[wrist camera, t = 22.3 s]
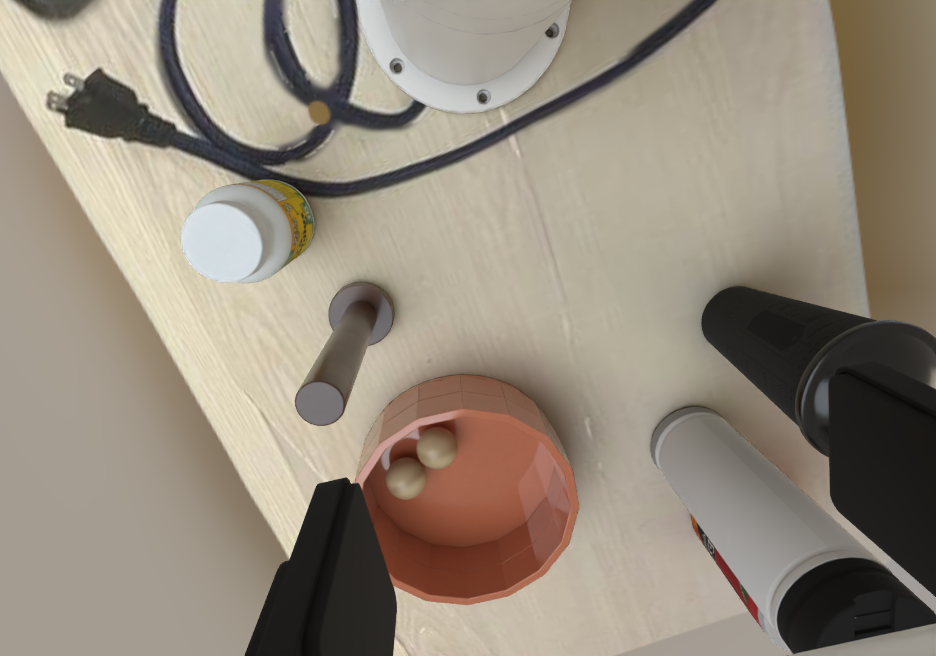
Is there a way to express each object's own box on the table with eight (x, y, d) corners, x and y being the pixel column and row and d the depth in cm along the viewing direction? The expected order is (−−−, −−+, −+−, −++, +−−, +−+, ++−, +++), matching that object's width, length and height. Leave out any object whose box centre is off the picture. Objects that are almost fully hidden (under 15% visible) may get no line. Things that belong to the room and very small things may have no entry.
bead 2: (440, 438, 37) (440, 479, 38) (466, 426, 40) (465, 466, 40) (407, 429, 39) (407, 469, 39) (434, 418, 41) (433, 456, 42)
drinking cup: (680, 372, 41) (892, 557, 22) (683, 273, 39) (923, 384, 20) (779, 361, 41) (1073, 536, 22) (788, 262, 39) (1124, 362, 20)
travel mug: (652, 486, 44) (818, 737, 25) (646, 413, 42) (821, 625, 23) (728, 472, 44) (952, 712, 25) (726, 398, 42) (967, 598, 23)
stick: (323, 289, 38) (255, 368, 23) (385, 276, 38) (355, 348, 23) (340, 347, 39) (286, 457, 25) (400, 335, 39) (380, 437, 25)
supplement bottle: (248, 165, 35) (182, 168, 26) (328, 200, 36) (292, 214, 27) (223, 242, 36) (152, 270, 27) (300, 274, 37) (257, 311, 28)
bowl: (338, 399, 40) (322, 439, 35) (540, 354, 40) (557, 387, 34) (391, 564, 45) (385, 624, 39) (572, 524, 45) (592, 578, 39)
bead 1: (404, 464, 38) (416, 505, 38) (428, 449, 41) (438, 487, 41) (372, 468, 40) (383, 507, 40) (396, 453, 42) (407, 490, 42)
